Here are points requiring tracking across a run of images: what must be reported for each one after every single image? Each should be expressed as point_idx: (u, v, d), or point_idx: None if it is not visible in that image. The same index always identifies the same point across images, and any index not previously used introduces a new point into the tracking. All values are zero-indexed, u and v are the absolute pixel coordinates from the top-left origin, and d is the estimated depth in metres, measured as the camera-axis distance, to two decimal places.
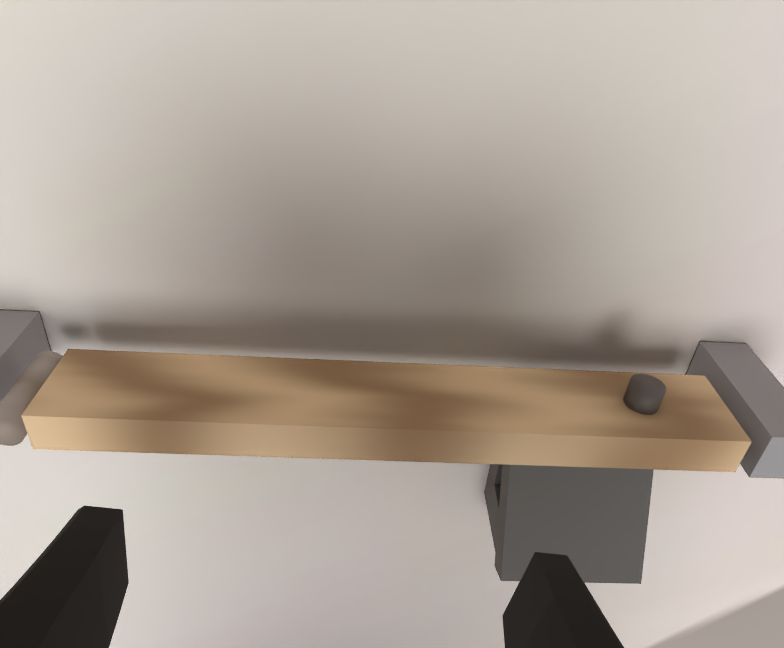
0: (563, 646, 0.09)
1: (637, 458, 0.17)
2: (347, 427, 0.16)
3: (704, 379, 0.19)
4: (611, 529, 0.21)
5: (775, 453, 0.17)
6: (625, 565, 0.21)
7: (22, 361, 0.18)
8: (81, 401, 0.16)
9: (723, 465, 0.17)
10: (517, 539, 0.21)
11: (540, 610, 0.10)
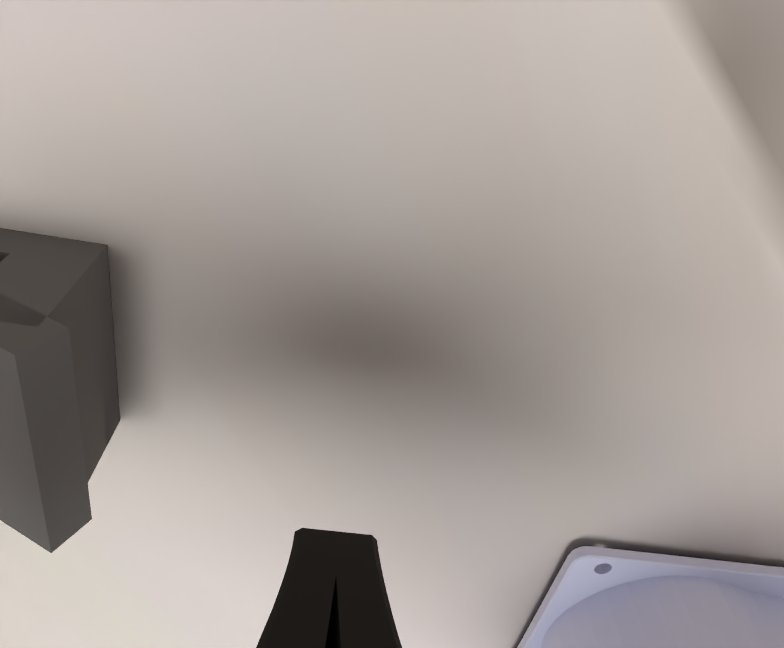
0: (335, 627, 0.09)
1: None
2: None
3: None
4: None
5: None
6: None
7: None
8: None
9: None
10: None
11: None
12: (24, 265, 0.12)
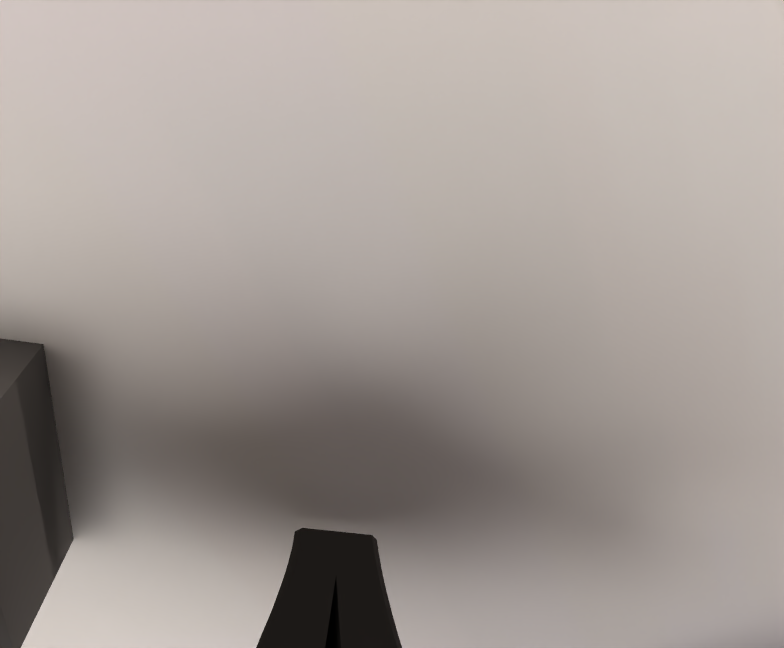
0: (335, 627, 0.09)
1: None
2: None
3: None
4: None
5: None
6: None
7: None
8: None
9: None
10: None
11: None
12: None
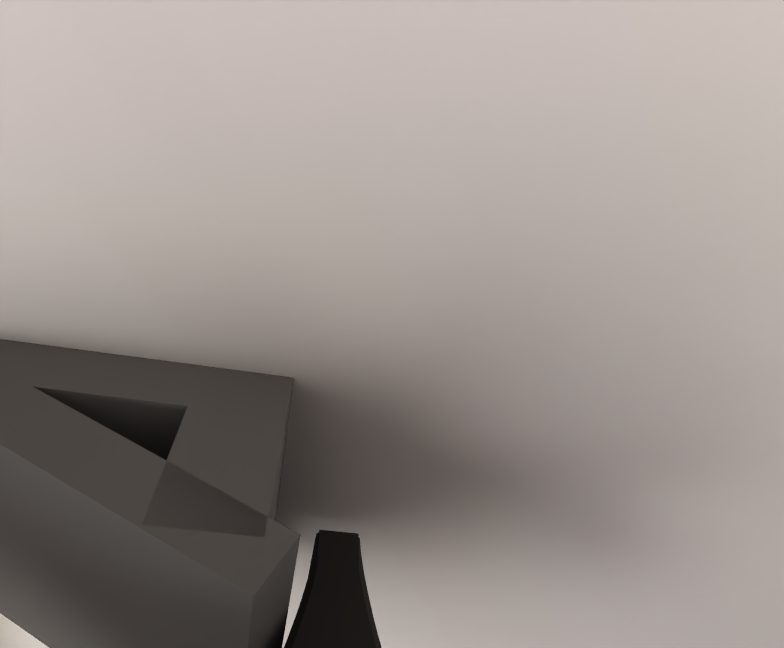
0: None
1: None
2: None
3: None
4: (126, 577, 0.08)
5: None
6: (206, 598, 0.08)
7: None
8: None
9: None
10: None
11: None
12: (211, 425, 0.09)
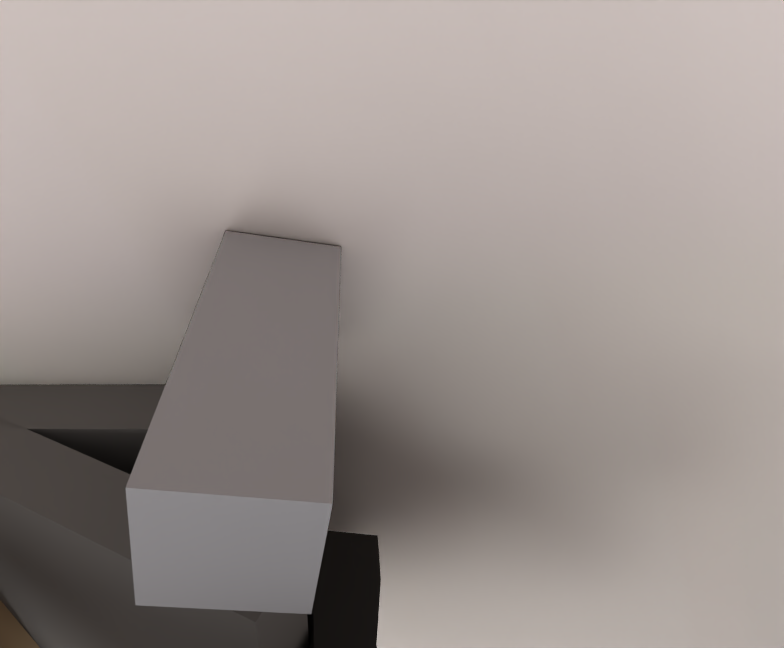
0: (310, 625, 0.09)
1: None
2: None
3: None
4: (138, 611, 0.08)
5: (205, 587, 0.05)
6: (214, 626, 0.07)
7: None
8: None
9: None
10: None
11: None
12: None
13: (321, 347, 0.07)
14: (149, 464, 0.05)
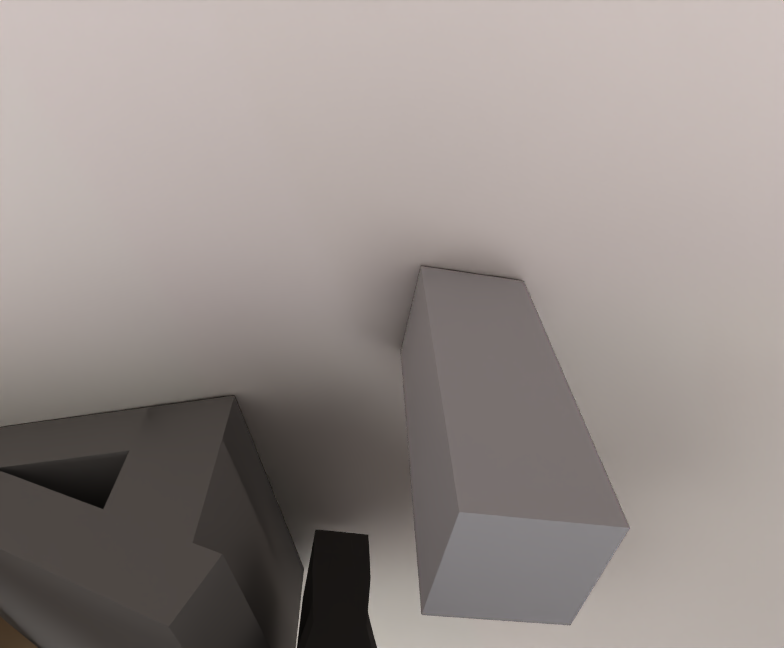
0: (310, 625, 0.09)
1: None
2: None
3: None
4: (96, 626, 0.09)
5: (489, 600, 0.06)
6: (148, 634, 0.08)
7: None
8: None
9: None
10: None
11: (308, 589, 0.10)
12: (149, 464, 0.09)
13: (553, 380, 0.07)
14: (468, 490, 0.06)
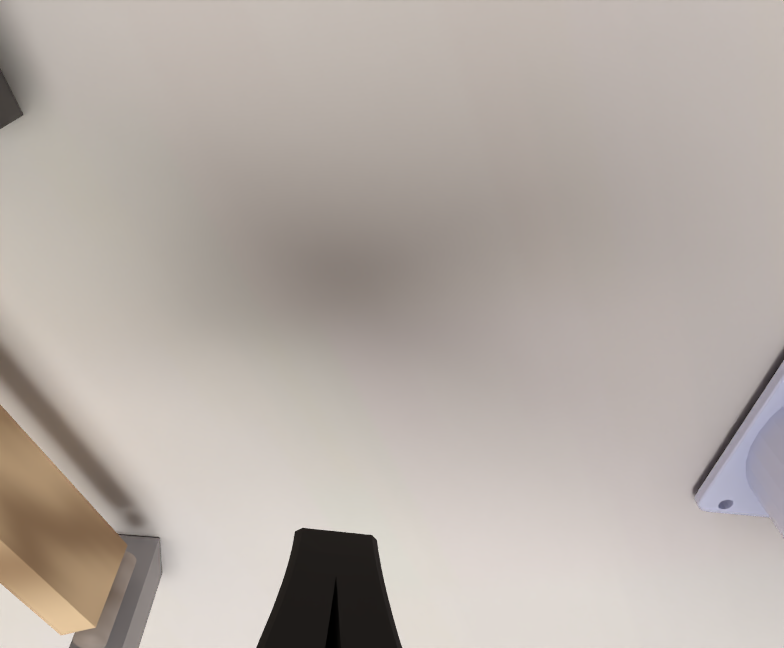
0: (335, 627, 0.09)
1: None
2: None
3: None
4: None
5: None
6: None
7: None
8: None
9: None
10: None
11: None
12: None
13: None
14: None
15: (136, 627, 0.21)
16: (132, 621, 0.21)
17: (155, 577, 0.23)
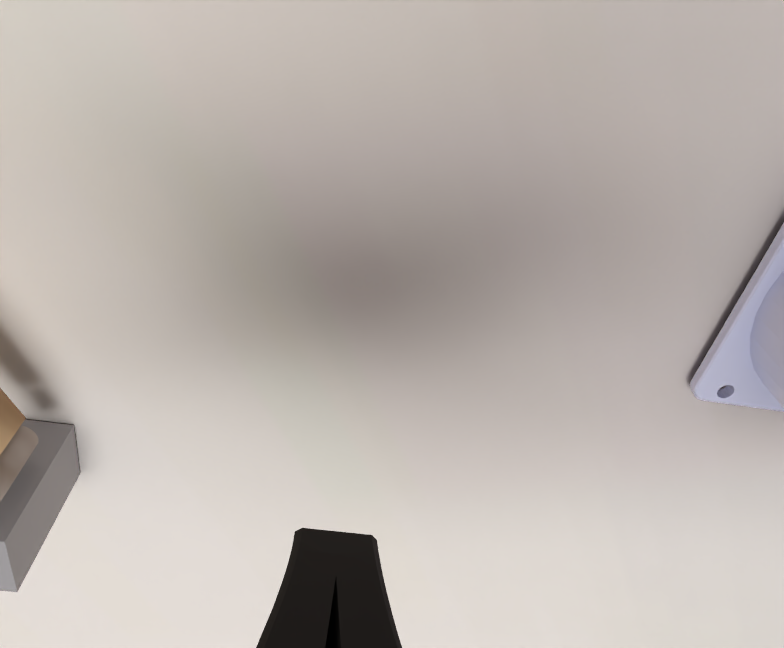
0: (335, 627, 0.09)
1: None
2: None
3: None
4: None
5: None
6: None
7: None
8: None
9: None
10: None
11: None
12: None
13: None
14: None
15: (36, 517, 0.18)
16: (28, 506, 0.18)
17: (68, 471, 0.20)
